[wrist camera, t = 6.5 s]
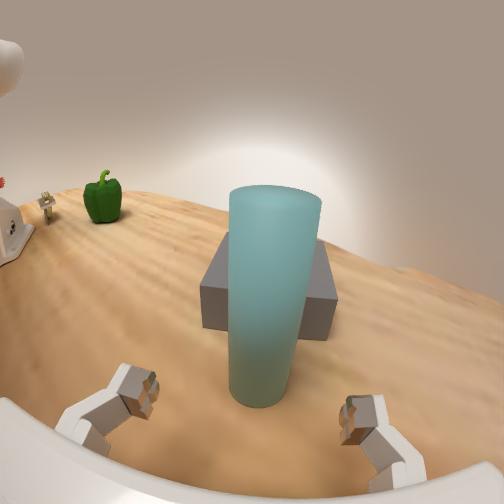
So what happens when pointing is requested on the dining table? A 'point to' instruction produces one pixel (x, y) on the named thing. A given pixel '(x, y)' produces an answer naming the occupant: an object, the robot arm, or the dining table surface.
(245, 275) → the peg
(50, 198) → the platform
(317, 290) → the socket block
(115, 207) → the bell pepper
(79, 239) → the dining table surface
